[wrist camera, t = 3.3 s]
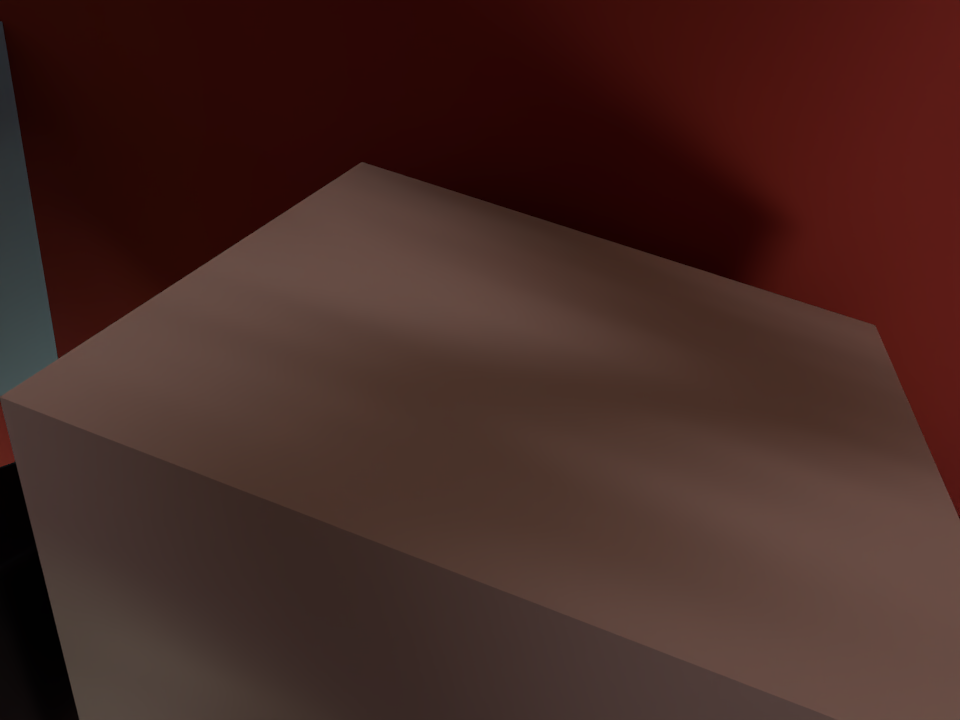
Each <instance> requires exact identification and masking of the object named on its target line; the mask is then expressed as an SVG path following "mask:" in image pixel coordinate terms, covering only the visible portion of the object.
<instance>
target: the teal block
mask: <svg viewBox="0 0 960 720" xmlns="http://www.w3.org/2000/svg"><path fill="white" fill-rule="evenodd" d="M57 359H58V356H57V350H56V344H55V338H54V332H53V326H52V320H51V314H50V308H49V302H48V296H47V290H46V284H45V278H44V272H43V266H42V260H41V254H40V247H39V241H38V235H37V229H36V223H35V217H34V211H33V205H32V199H31V193H30V187H29V181H28V175H27V169H26V163H25V157H24V151H23V145H22V138H21V132H20V126H19V120H18V114H17V108H16V102H15V96H14V90H13V84H12V78H11V72H10V66H9V60H8V54H7V48H6V42H5V36H4V30H3V23H2V21H0V396H2V395H3V394H5V393H7V392H8V391H10V390H11V389H13V388H14V387H16V386H17V385H19V384H20V383H22V382H23V381H25V380H27V379H28V378H30V377H31V376H33V375H34V374H36V373H37V372H39V371H40V370H42V369H44V368H45V367H47V366H48V365H50V364H51V363H53V362H54V361H56V360H57Z"/></svg>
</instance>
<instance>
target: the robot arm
mask: <svg viewBox="0 0 960 720" xmlns="http://www.w3.org/2000/svg"><path fill="white" fill-rule="evenodd" d="M0 720H79V717H78V712H77V708H76V704H75V700H74V696H73V692H72V688H71V684H70V680H69V676H68V672H67V668H66V664H65V660H64V656H63V652H62V648H61V644H60V640H59V636H58V631H57V627H56V623H55V619H54V615H53V611H52V607H51V603H50V599H49V595H48V591H47V587H46V583H45V579H44V575H43V571H42V567H41V563H40V559H39V555H38V550H37V546H36V542H35V538H34V534H33V530H32V526H31V522H30V518H29V514H28V510H27V506H26V502H25V498H24V494H23V490H22V486H21V482H20V478H19V474H18V469H17V465H16V462H14V463H11V464H8V465H5V466H2V467H0Z"/></svg>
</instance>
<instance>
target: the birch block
mask: <svg viewBox="0 0 960 720" xmlns="http://www.w3.org/2000/svg"><path fill="white" fill-rule="evenodd" d="M0 401H1V405H2V409H3V413H4V417H5V421H6V425H7V429H8V433H9V437H10V441H11V445H12V449H13V453H14V457H15V461H16V465H17V469H18V474H19V478H20V482H21V486H22V490H23V494H24V498H25V502H26V506H27V510H28V514H29V518H30V522H31V526H32V530H33V534H34V538H35V542H36V546H37V550H38V555H39V559H40V563H41V567H42V571H43V575H44V579H45V583H46V587H47V591H48V595H49V599H50V603H51V607H52V611H53V615H54V619H55V623H56V627H57V631H58V636H59V640H60V644H61V648H62V652H63V656H64V660H65V664H66V668H67V672H68V676H69V680H70V684H71V688H72V692H73V696H74V700H75V704H76V708H77V712H78V717H79V720H960V519H959V517H958V515H957V512H956V510H955V508H954V505H953V503H952V501H951V499H950V496H949V494H948V492H947V489H946V487H945V485H944V482H943V480H942V478H941V476H940V473H939V471H938V469H937V466H936V464H935V462H934V459H933V457H932V455H931V453H930V450H929V448H928V446H927V443H926V441H925V439H924V436H923V434H922V432H921V430H920V427H919V425H918V423H917V420H916V418H915V416H914V413H913V411H912V409H911V407H910V404H909V402H908V400H907V397H906V395H905V393H904V391H903V388H902V386H901V384H900V381H899V379H898V377H897V374H896V372H895V370H894V368H893V365H892V363H891V361H890V358H889V356H888V354H887V351H886V349H885V347H884V345H883V342H882V340H881V338H880V335H879V333H878V331H877V328H876V326H875V325H872V324H869V323H866V322H863V321H860V320H857V319H853V318H850V317H847V316H844V315H841V314H838V313H835V312H831V311H828V310H825V309H822V308H819V307H816V306H813V305H810V304H806V303H803V302H800V301H797V300H794V299H791V298H788V297H784V296H781V295H778V294H775V293H772V292H769V291H766V290H762V289H759V288H756V287H753V286H750V285H747V284H744V283H740V282H737V281H734V280H731V279H728V278H725V277H722V276H718V275H715V274H712V273H709V272H706V271H703V270H700V269H696V268H693V267H690V266H687V265H684V264H681V263H678V262H674V261H671V260H668V259H665V258H662V257H659V256H656V255H652V254H649V253H646V252H643V251H640V250H637V249H634V248H630V247H627V246H624V245H621V244H618V243H615V242H612V241H608V240H605V239H602V238H599V237H596V236H593V235H590V234H586V233H583V232H580V231H577V230H574V229H571V228H568V227H565V226H561V225H558V224H555V223H552V222H549V221H546V220H543V219H539V218H536V217H533V216H530V215H527V214H524V213H521V212H517V211H514V210H511V209H508V208H505V207H502V206H499V205H495V204H492V203H489V202H486V201H483V200H480V199H477V198H473V197H470V196H467V195H464V194H461V193H458V192H455V191H451V190H448V189H445V188H442V187H439V186H436V185H433V184H429V183H426V182H423V181H420V180H417V179H414V178H411V177H407V176H404V175H401V174H398V173H395V172H392V171H389V170H385V169H382V168H379V167H376V166H373V165H370V164H367V163H363V162H361V163H360V164H358V165H357V166H355V167H353V168H352V169H350V170H349V171H347V172H346V173H344V174H343V175H341V176H340V177H338V178H336V179H335V180H333V181H332V182H330V183H329V184H327V185H326V186H324V187H323V188H321V189H320V190H318V191H316V192H315V193H313V194H312V195H310V196H309V197H307V198H306V199H304V200H303V201H301V202H299V203H298V204H296V205H295V206H293V207H292V208H290V209H289V210H287V211H286V212H284V213H282V214H281V215H279V216H278V217H276V218H275V219H273V220H272V221H270V222H269V223H267V224H266V225H264V226H262V227H261V228H259V229H258V230H256V231H255V232H253V233H252V234H250V235H249V236H247V237H245V238H244V239H242V240H241V241H239V242H238V243H236V244H235V245H233V246H232V247H230V248H229V249H227V250H225V251H224V252H222V253H221V254H219V255H218V256H216V257H215V258H213V259H212V260H210V261H208V262H207V263H205V264H204V265H202V266H201V267H199V268H198V269H196V270H195V271H193V272H192V273H190V274H188V275H187V276H185V277H184V278H182V279H181V280H179V281H178V282H176V283H175V284H173V285H171V286H170V287H168V288H167V289H165V290H164V291H162V292H161V293H159V294H158V295H156V296H155V297H153V298H151V299H150V300H148V301H147V302H145V303H144V304H142V305H141V306H139V307H138V308H136V309H134V310H133V311H131V312H130V313H128V314H127V315H125V316H124V317H122V318H121V319H119V320H118V321H116V322H114V323H113V324H111V325H110V326H108V327H107V328H105V329H104V330H102V331H101V332H99V333H97V334H96V335H94V336H93V337H91V338H90V339H88V340H87V341H85V342H84V343H82V344H81V345H79V346H77V347H76V348H74V349H73V350H71V351H70V352H68V353H67V354H65V355H64V356H62V357H60V358H59V359H57V360H56V361H54V362H53V363H51V364H50V365H48V366H47V367H45V368H44V369H42V370H40V371H39V372H37V373H36V374H34V375H33V376H31V377H30V378H28V379H27V380H25V381H23V382H22V383H20V384H19V385H17V386H16V387H14V388H13V389H11V390H10V391H8V392H7V393H5V394H3V395H2V396H0Z"/></svg>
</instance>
